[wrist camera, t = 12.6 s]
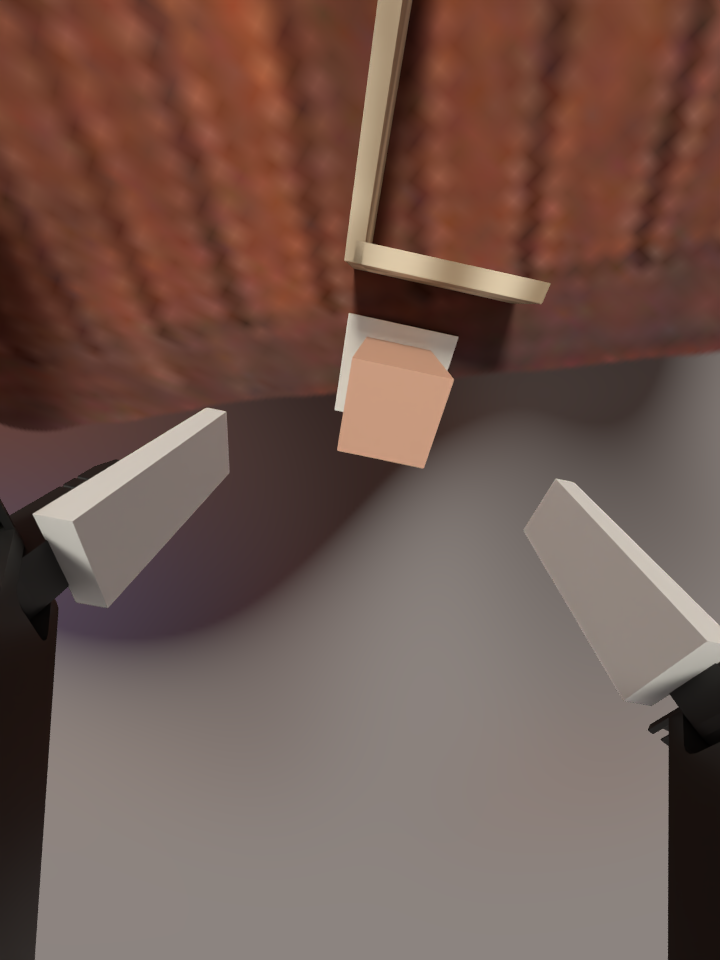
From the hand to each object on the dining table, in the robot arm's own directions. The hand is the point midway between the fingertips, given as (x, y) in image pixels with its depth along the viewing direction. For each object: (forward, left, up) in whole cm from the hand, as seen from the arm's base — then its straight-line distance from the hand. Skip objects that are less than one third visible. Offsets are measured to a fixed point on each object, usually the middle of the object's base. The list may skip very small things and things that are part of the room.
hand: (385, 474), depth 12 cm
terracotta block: (0, 0, -20) cm, 20 cm away
